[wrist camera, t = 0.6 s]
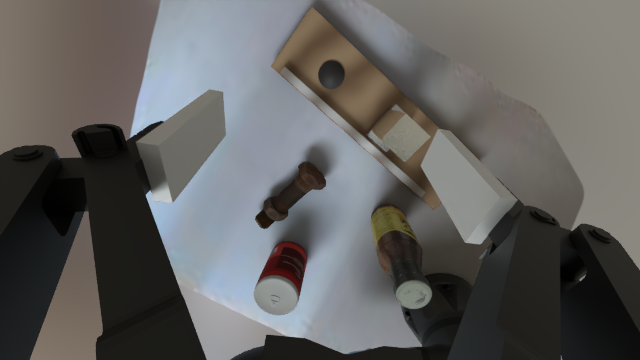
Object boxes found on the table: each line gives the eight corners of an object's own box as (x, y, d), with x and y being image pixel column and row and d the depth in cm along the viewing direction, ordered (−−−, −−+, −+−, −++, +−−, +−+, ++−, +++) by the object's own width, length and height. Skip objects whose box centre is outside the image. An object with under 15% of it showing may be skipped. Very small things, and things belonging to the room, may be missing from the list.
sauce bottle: (406, 228, 46) (449, 317, 28) (373, 235, 48) (393, 325, 29) (399, 197, 45) (440, 270, 26) (365, 205, 46) (381, 280, 27)
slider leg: (411, 121, 38) (437, 130, 28) (384, 149, 40) (398, 168, 29) (393, 103, 37) (412, 106, 27) (366, 133, 39) (374, 146, 29)
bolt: (264, 211, 50) (315, 163, 45) (276, 231, 49) (330, 184, 44) (243, 213, 45) (299, 159, 40) (256, 236, 43) (316, 183, 39)
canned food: (273, 271, 53) (255, 314, 42) (269, 239, 50) (250, 276, 40) (308, 273, 52) (299, 317, 41) (306, 240, 49) (297, 279, 39)
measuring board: (475, 165, 41) (525, 191, 30) (429, 205, 44) (459, 241, 33) (313, 11, 36) (299, -28, 25) (274, 67, 39) (246, 55, 28)
